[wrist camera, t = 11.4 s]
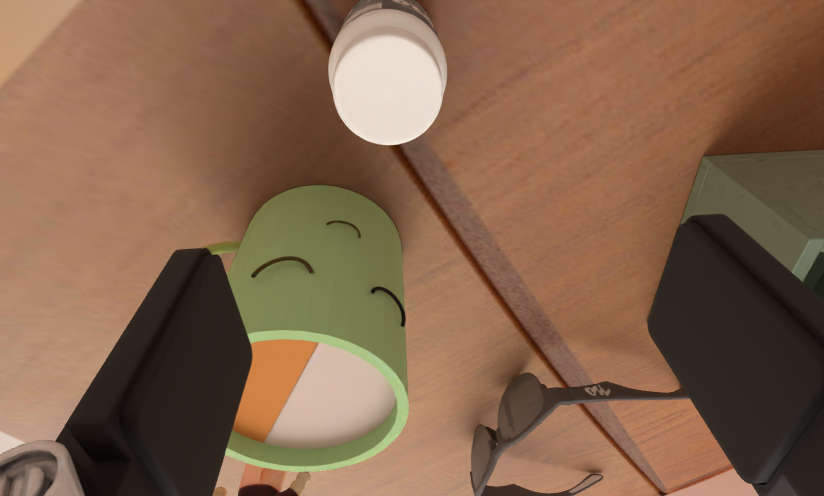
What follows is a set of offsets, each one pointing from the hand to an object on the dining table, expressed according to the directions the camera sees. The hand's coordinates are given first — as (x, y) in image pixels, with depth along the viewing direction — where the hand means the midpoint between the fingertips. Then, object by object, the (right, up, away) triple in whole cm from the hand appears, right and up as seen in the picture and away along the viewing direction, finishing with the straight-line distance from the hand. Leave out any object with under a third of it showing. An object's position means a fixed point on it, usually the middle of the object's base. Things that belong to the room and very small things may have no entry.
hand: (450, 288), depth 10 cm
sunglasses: (+13, -15, +33) cm, 39 cm away
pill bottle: (-2, +11, +14) cm, 18 cm away
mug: (-8, +1, +21) cm, 22 cm away
